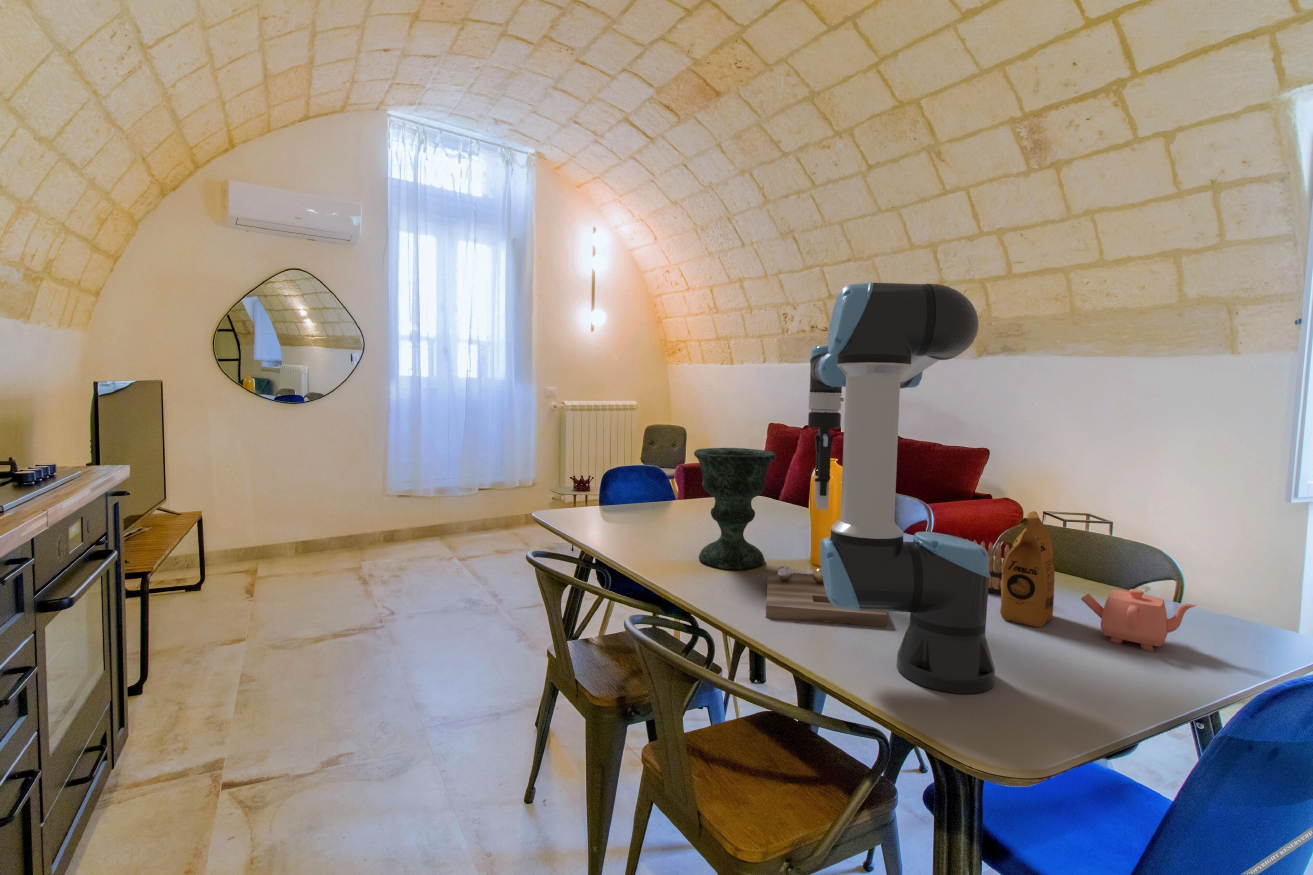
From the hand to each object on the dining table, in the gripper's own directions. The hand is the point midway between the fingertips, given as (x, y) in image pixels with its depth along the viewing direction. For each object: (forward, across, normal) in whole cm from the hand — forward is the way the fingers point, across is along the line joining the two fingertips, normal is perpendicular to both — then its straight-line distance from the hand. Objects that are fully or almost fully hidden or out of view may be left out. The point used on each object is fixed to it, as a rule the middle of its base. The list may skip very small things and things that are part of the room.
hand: (820, 505), depth 161 cm
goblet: (+19, +16, +22) cm, 33 cm away
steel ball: (+15, -8, +8) cm, 19 cm away
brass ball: (+15, -8, 0) cm, 17 cm away
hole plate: (+19, -14, 0) cm, 24 cm away
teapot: (+19, -24, -58) cm, 66 cm away
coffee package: (+19, -14, -42) cm, 48 cm away
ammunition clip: (+19, +4, -39) cm, 44 cm away
